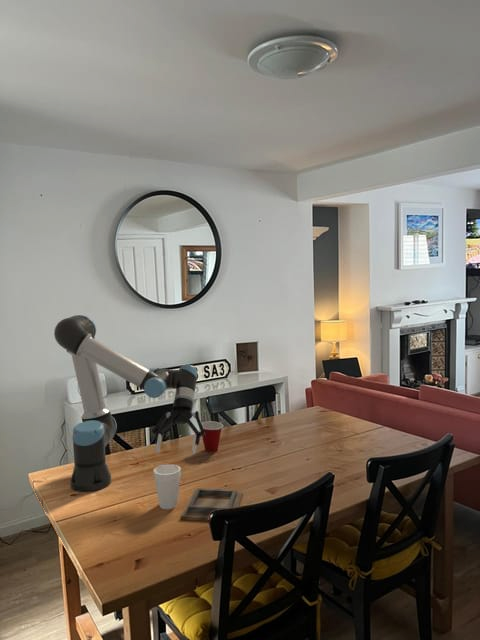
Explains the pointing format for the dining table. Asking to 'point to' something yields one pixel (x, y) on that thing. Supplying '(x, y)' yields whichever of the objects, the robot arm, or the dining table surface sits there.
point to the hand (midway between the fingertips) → (175, 452)
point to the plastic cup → (211, 435)
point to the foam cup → (167, 485)
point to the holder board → (210, 502)
